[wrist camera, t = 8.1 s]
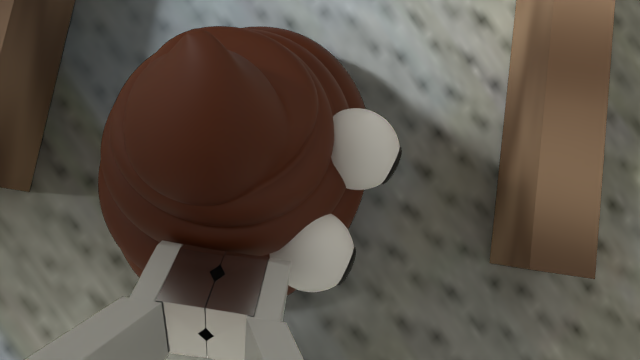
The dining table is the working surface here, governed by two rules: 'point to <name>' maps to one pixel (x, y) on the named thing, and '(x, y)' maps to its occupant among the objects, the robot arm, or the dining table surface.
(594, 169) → the channel
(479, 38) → the dining table surface
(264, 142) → the poop emoji
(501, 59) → the dining table surface
